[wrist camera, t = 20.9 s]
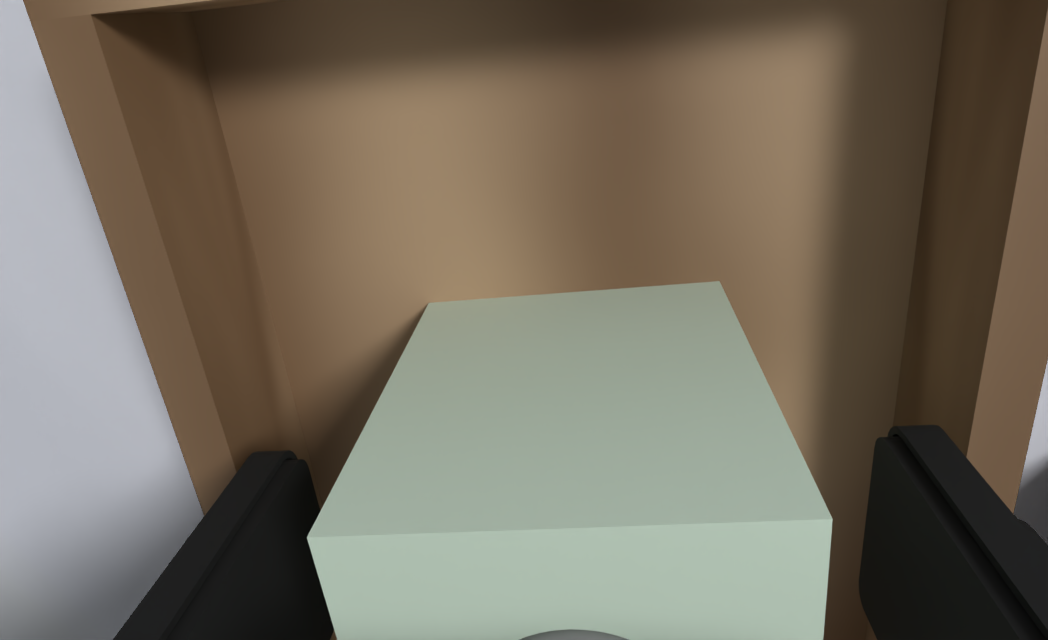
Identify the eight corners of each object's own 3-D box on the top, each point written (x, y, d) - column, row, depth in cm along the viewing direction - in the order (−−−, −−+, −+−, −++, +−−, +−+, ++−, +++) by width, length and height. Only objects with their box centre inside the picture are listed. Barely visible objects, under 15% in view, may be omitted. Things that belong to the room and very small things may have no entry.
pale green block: (469, 528, 14) (395, 858, 9) (428, 302, 12) (301, 548, 7) (720, 519, 14) (810, 868, 8) (719, 280, 12) (838, 530, 6)
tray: (354, 698, 18) (313, 824, 15) (147, -39, 11) (5, -51, 8) (881, 699, 16) (941, 839, 14) (1007, -147, 10) (1171, -204, 7)
